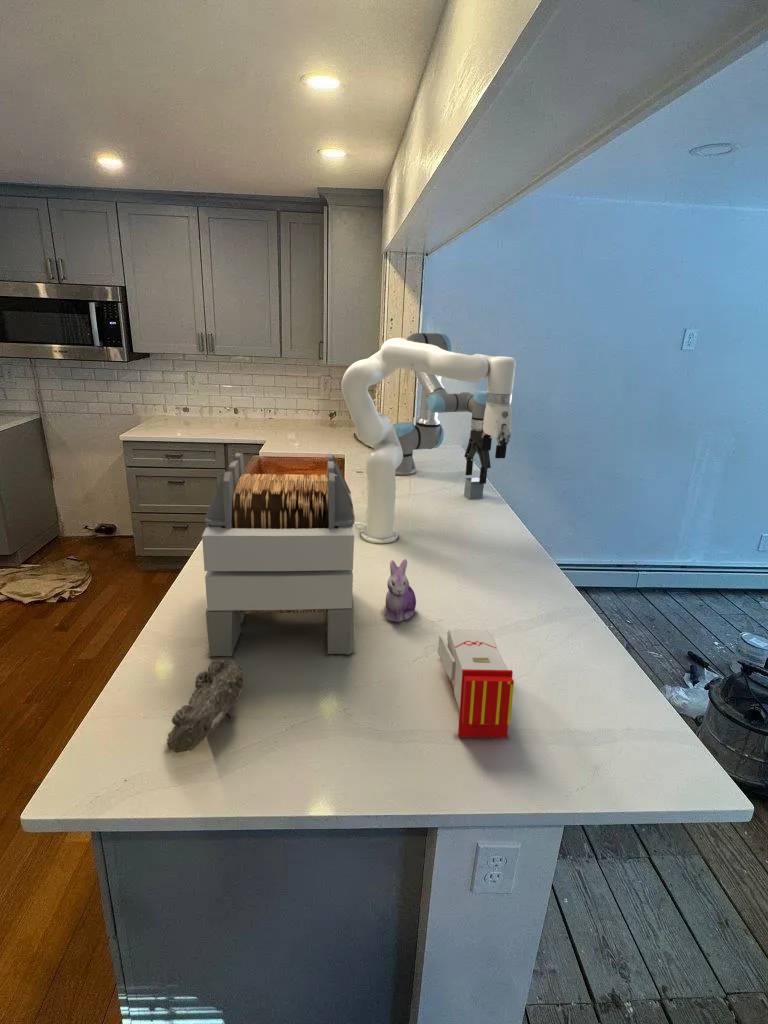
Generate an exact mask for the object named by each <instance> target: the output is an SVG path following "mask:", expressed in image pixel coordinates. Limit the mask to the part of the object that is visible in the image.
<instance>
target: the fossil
mask: <svg viewBox="0 0 768 1024" xmlns="http://www.w3.org/2000/svg"><path fill="white" fill-rule="evenodd" d="M243 670H244V669H243V667H242V665H240V664H237V662H236V661H235V660H234V659H232V658H231V659H227V658H226V659H224V660H223V661H222V660H217V659H212V660H211V661H210V663H209V665H208V666H207V671H201V672H199V673H198V674H197V675H196V676H195V680H194V684H195V685H194V687H195V689H194V690H193V693H192V694H191V697H190V698H189V700H188V704H184V705H182V706H181V707H180V709H177V710H176V711H175V713H174V715H173V716H172V718H171V723H172V724H173V727H172V730H171V731H170V732H168V734H167V738H166V741H167V742H166V745H167V749H168V750H169V751H173V752H174V753H176V754H178V753H182V752H188V751H189V752H192V751H193V750H195V748H196V747H197V746H199V744H200V743H201V742H203V741H204V740H205V739H206V738H207V737H208V736H209V735H210V734H211V733H212V732H214V730H215V729H217V727H218V726H219V724H220V722H221V721H222V720H223V719H224V718H225V716H226V717H227V719H229V720H233V717H232V715H230V714H229V710H230V709H231V708H234V706H235V704H236V703H237V702H238V699H239V697H240V695H241V693H242V691H243V690H245V689H244V688H245V675H244V671H243Z"/></svg>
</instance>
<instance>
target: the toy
mask: <svg viewBox="0 0 768 1024" xmlns="http://www.w3.org/2000/svg"><path fill="white" fill-rule="evenodd" d="M446 640H447V643H446V641H445V639H444V636H443V635H442V634H439V637H438V646H437V656H438V657H439V659H440V661H441V663H442V666H443V668H444V670H445V672H446V674H447V677H448V679H449V681H450V684H451V687H452V690H453V693H454V697H455V701H456V705H457V708H458V711H459V714H458V715H459V716H458V730H457V731H458V732H457V737H458V738H508V731H509V726H510V725H511V717H512V707H513V697H514V696H513V695H514V684H515V680H514V679H513V673H514V671H513V670H512V669H508V667H507V665H506V662H505V661H504V659H503V658H502V655H501V653H500V651H499V649H498V647H497V643H496V639H495V637H494V635H493V634H491V632H490V631H489V629H467V628H466V629H465V628H463V629H461V628H460V629H459V628H448V630H447V639H446Z"/></svg>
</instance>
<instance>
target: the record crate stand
mask: <svg viewBox="0 0 768 1024" xmlns="http://www.w3.org/2000/svg"><path fill="white" fill-rule="evenodd" d="M244 460H245V459H244V453H243V452H241V453H240V452H235V454H234V456H233V458H232V460H230V463H229V465H228V467H227V470H226V471H225V472H224V473H223V475H222V478H221V479H220V482H219V484H218V487H217V489H216V491H215V494H214V495H213V497H212V500H211V502H210V505H209V507H208V509H207V512H206V514H205V517H204V523H205V525H206V527H205V529H204V531H203V533H202V535H201V540H202V553H203V554H202V556H203V566H204V567H203V569H204V572H206V574H205V576H204V580H205V581H204V583H205V597H206V609H205V620H206V621H205V622H206V634H207V639H208V640H207V641H208V653H207V655H208V657H211V658H216V657H232V654H233V652H234V649H235V647H236V645H237V643H238V640H239V637H240V635H241V624H243V623H244V619H245V615H246V614H272V613H273V614H285V613H286V614H288V613H289V614H291V613H293V614H295V613H299V614H300V613H316V612H317V613H326V635H327V639H326V640H327V654H328V655H351V654H352V653H353V652H354V638H355V637H354V636H355V634H354V633H355V606H354V605H355V604H354V596H353V589H354V588H353V587H354V573H353V570H354V554H355V553H354V552H355V551H354V549H355V532H354V527H353V525H355V522H356V521H355V520H356V515H355V511H354V503H353V499H352V492H351V490H350V488H349V485H348V484H347V481H346V479H345V477H344V475H343V472H342V470H341V469H340V466H339V463H338V461H337V459H336V457H335V455H334V453H327V461H326V462H327V466H326V467H327V469H326V470H327V471H326V472H327V473H326V474H321V475H320V476H319V475H318V474H310V475H308V474H307V475H306V474H301V473H299V474H294V473H293V474H292V473H285V474H284V473H283V474H278V475H277V474H276V473H273V474H272V473H262V474H261V473H258V474H257V473H252V474H251V473H245V461H244Z"/></svg>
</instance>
